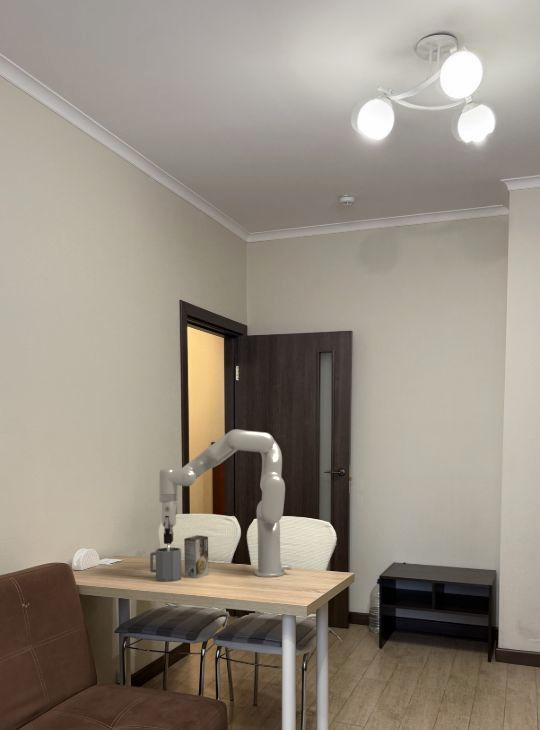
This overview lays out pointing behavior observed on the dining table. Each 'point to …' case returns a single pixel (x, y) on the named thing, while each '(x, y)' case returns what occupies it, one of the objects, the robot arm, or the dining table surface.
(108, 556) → the dining table surface
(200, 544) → the coffee box
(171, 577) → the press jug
